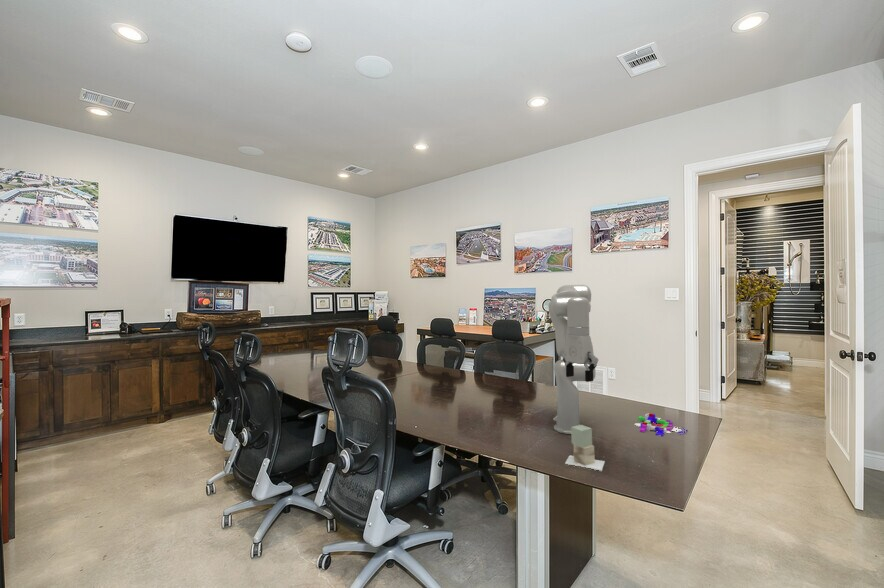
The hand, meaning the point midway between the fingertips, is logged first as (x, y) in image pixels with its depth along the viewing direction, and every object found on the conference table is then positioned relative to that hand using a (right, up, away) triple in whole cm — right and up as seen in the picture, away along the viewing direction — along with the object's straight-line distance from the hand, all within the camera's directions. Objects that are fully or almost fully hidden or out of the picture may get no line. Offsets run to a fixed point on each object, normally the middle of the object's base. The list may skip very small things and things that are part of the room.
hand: (579, 378), depth 144 cm
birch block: (+1, -30, -1) cm, 30 cm away
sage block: (+1, -24, 0) cm, 24 cm away
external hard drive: (+2, -31, -1) cm, 31 cm away
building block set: (+49, -30, +36) cm, 68 cm away
